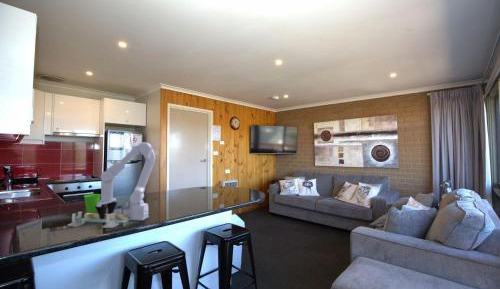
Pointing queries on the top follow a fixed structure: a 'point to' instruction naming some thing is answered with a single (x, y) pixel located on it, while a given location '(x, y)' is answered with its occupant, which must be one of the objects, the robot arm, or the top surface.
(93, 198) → the cup
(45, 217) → the top surface
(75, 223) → the hook stand
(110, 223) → the hook stand
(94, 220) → the mat
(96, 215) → the rail
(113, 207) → the robot arm
